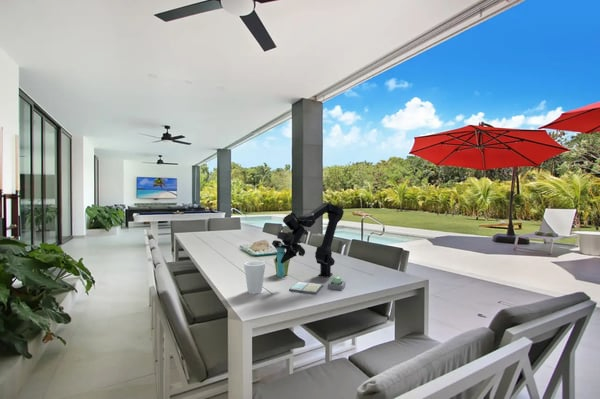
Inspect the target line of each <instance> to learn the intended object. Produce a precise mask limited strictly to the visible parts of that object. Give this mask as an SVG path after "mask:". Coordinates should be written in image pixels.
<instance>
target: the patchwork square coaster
mask: <svg viewBox="0 0 600 399" xmlns="http://www.w3.org/2000/svg"><path fill="white" fill-rule="evenodd" d="M323 287H324V284H323V283H313V282H304V281H296V283H294V284H293V285H292V286H291V287H290V288H289V290H288V291H289V292H294V293H295V292H296V293H305V294H311V295H312V294H313V295H317V294H318V293H319V292H320V290H321V289H322V288H323Z"/></svg>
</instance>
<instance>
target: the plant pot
mask: <svg viewBox="0 0 600 399" xmlns="http://www.w3.org/2000/svg"><path fill="white" fill-rule="evenodd" d="M275 260H276V257H274V258H273V261H274V265H275V274H276V276H277V262H276V261H275ZM290 261H291V259H289V260H287V261H286V262H284V276H283V277H285V276H288V273H289V265H290Z"/></svg>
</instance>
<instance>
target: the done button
mask: <svg viewBox="0 0 600 399" xmlns="http://www.w3.org/2000/svg"><path fill="white" fill-rule="evenodd" d="M331 280H332V284H338V285H341V281H342V277H341V276H331Z"/></svg>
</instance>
